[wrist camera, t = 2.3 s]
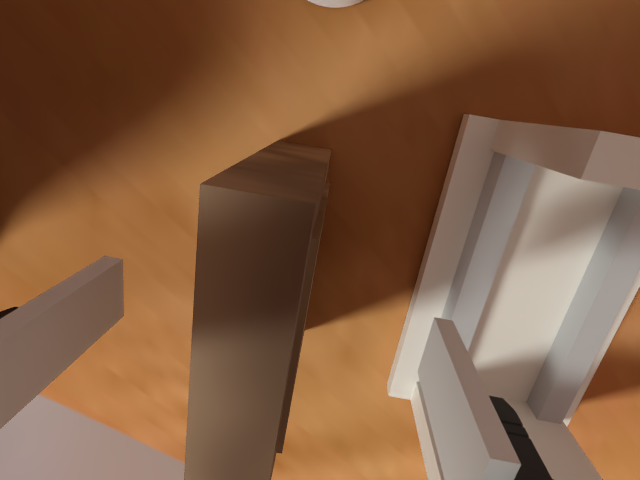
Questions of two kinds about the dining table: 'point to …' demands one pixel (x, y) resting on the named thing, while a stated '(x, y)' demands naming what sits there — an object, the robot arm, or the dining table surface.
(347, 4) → the cup
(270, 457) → the door panel
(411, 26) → the dining table surface
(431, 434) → the track frame
